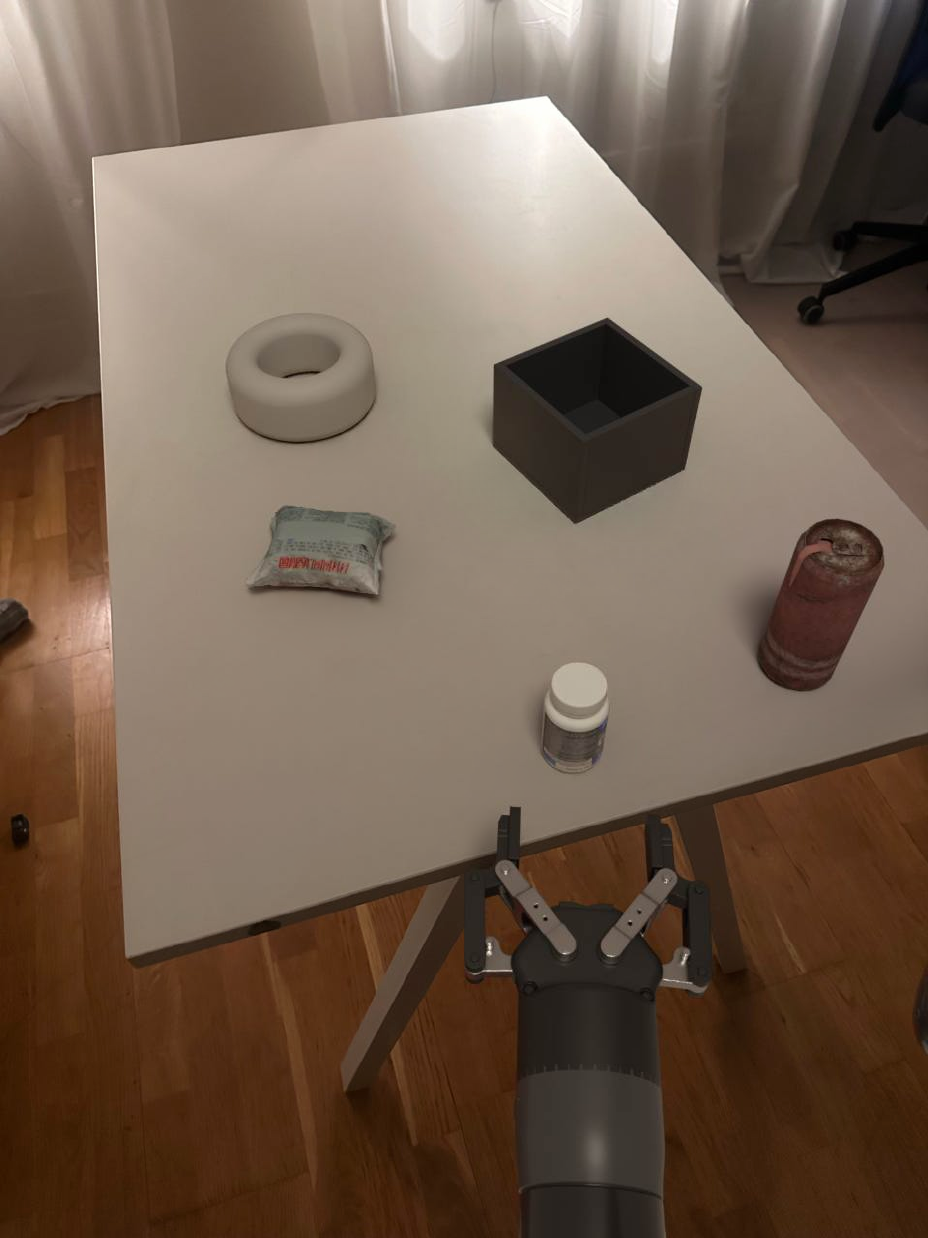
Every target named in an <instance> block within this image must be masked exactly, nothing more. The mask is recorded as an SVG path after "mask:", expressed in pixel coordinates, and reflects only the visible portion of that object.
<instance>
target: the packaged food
mask: <svg viewBox="0 0 928 1238" xmlns="http://www.w3.org/2000/svg"><path fill="white" fill-rule="evenodd" d="M268 524H269V530H270V531H271V533H272V534H273V535H272V537H271V540H270V542H269V546H268V549H267V551H266V553H265V555H263V558H262V559H261V560H260V562H259V563H258V564H257V566H256V567H255V568H254V570H253V571H252V572H251V573H250V575H249V576H248V578H247V579H246V580H245V583H244V586H245V587H249V588H252V587H263V586H268V585H270V586H272V587H315V588H324V589H330V590H341V591H347V592H355V593H361V594H369V595H376V596H378V595H379V591H380V583H379V570H380V571H381V570H383V569H384V567H383V565H382V563H381V562H382V559H381V558H382V555H381V553H382V547H383V542H384V541H386V540H387V539H388V537H389V536H391V535H392V533H393V532H395V531H396V528H397V525H396V524H394V523H392V522H390V521H388V520H386V519H385V518H382V517H381V516H379V515H376V514H374V513H371V512H360V511H358V512H357V511H333V510H322V509H317V508H309V507H303V506H295V505H282V506H281V507H280V508H279V509H278V510H277V511H275V512H274V517H270V520H269V522H268Z"/></svg>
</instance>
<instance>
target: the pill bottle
mask: <svg viewBox="0 0 928 1238" xmlns="http://www.w3.org/2000/svg"><path fill="white" fill-rule="evenodd" d="M609 713H610V698H609V696H608V681H607V678H606V676H605V674H604V673H603V672H602V671H601V670H600V669H599V668H597V667H596V666H595V665H592V664H590V663H587V662H580V661H576V662H569V663H566V664H564V665H562V666H560V667H559V668H558V669H557V670H556V671H555V672H554V674H553V675H552V677H551V681H550V687H549V688H548V690H547V691H546V694H545V696H544V700H543V714H542V727H541V737H540V743H541V744H540V747H541V753H542V756H543V757H544V759H545V760H546V762H547V763H548V764H549V765H550V766H551V767H553V768H554V769H556V770H557V771H560V772H563V773H566V774H567V773H569V774H579V773H583V772H586V771H588V770H590V769H592V768H593V767H594V766H596V764H597V763H598V762H599V760H600V759H601V756H602V753H603V750H604V749H603V748H604V743H605V737H606V733H607V731H606V730H607V726H608V725H607V724H608V720H609Z"/></svg>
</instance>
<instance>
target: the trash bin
mask: <svg viewBox="0 0 928 1238" xmlns="http://www.w3.org/2000/svg"><path fill="white" fill-rule="evenodd" d="M492 389H493V390H492V394H493V395H492V396H493V397H492V403H493V404H492V446H493V448H494V449H496V451H498V452H499V454H501V456H503V457H504V458H505V459H506V460H507V461H508V462H509V463H510V464H511V465H512V466H513V467H514V468H516V470H517V471H519V473H521V474H522V475H523V476H524V478H526V479H527V480H528V481H529V482H530V483H532V485H533V486H534V487H535V488H537V490H539V492H541V493H542V494H543V495H544V496H545V497H546V498H547V499H548V500H549V501H550V502H551V503H552V504H554V506H556V507H557V508H558V509H559V511H561V512H562V513H563V514H564V515H565V516H566V517H567V518H568V519H569V520H570V521H571V522H572V523H573V524H578V523H580V522H582V521H584V520H586V519H588V518H591V517H592V516H594V515H596V514H599V513H600V512H602V511H605V510H606V509H608V508H611V507H612V506H614V505H616V504H618V503H621V502H622V501H624V500H626V499H628V498H631V497H633V496H634V495H636V494H638V493H640V492H642V491H644V490H646V489H648V488H650V487H653V486H654V485H656V484H658V483H661V482H662V481H664V480H667V479H668V478H670V477H672V476H674V475H677V474H678V473H680V472H683V471H684V470H685V469H686V466H687V461H688V457H689V452H690V447H691V444H692V443H691V442H692V438H693V433H694V430H695V424H696V419H697V415H698V410H699V405H700V400H701V396H702V392H703V386H702V385H700V384H699V383H697V381H695V380H694V379H692V378H691V377H689V375H687V374H685V373H684V372H682V371H681V370H680V369H679V368H677V367H676V366H675V365H673V364H672V363H670V362H669V361H668V360H667V359H665V358H664V357H663V356H661V355H660V354H658V353H657V352H656V351H654V350H653V349H651V347H648V346H647V345H646V344H644V343H643V342H642V341H640V340H639V339H638V338H636V337H635V336H634V335H632V333H630V332H628V331H627V330H626V329H624V328H623V327H621V326H620V325H618V324H617V323H616V322H614V321H613V320H612V319H611V318H610V317H605V318H602V319H600V320H597V321H595V322H593V323H591V324H587V325H585V326H584V327H581V328H578V329H576V330H574V331H571V332H569V333H567V334H564V335H562V336H559V337H557V338H554V339H552V340H548V341H546V342H544V343H542V344H539V345H537V346H534V347H533V348H530V349H528V350H526V351H525V350H524V351H523V352H520V353H518V354H515V355H514V356H511V357H508V358H506V359H503V360H501V361H499V362H496V363H494V364H493V387H492Z"/></svg>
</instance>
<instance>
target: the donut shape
mask: <svg viewBox="0 0 928 1238" xmlns="http://www.w3.org/2000/svg"><path fill="white" fill-rule="evenodd" d="M305 372H317V373H316V374H312V375H307V376H304V377H287V376H290V375H294V374H298V373H305ZM375 373H376V372H375V365H374V355H373V350H372V347H371V344H370V343H369V341H368V339H367V338H366V336H365V335H364V334H363V333H362V332H361V330H359V328H357V327H355V326H354V325H353V324H351V323H350V322H348V321H345V320H344V319H341V318H338V317H336V316H332V315H328V314H323V313H314V312H300V313H299V312H298V313H288V314H284V315H280V316H275V317H272V318H269V319H266V320H264V321H262V322H259V323H256V324H255V325H253V326H252V327H250V328H249V329H247V330H246V331H245V332H243V333H242V334H241V335H240V336H239V337H238V338H237V339H236V340H235V341H234V343H233V344H232V345H231V347H230V348H229V351H228V353H227V356H226V361H225V376H226V380H227V384H228V388H229V391H230V396H231V400H232V404H233V408H234V411H235V413H236V414H237V416H238V418H239V419H240V421H242V422H243V424H244V425H246V426H247V427H248V428H249V429H251V430H252V431H254V432H256V433H257V434H259V435H261V436H264V437H266V438H270V439H273V440H276V441H277V440H279V441H284V442H291V443H294V442H295V443H296V442H297V443H298V442H299V443H301V442H313V441H318V440H324V439H327V438H331V437H333V436H335V435H339V434H340V433H343V432H345V431H347V430H348V429H350V428H352V427H353V426H355V425H356V424H357V423H359V422H360V421H361V420H362V419H363V417H365V416H366V415H367V413H368V412H369V411H370V409H371V407H372V406H373V404H374V401H375V397H376V393H377V383H376V374H375Z"/></svg>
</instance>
